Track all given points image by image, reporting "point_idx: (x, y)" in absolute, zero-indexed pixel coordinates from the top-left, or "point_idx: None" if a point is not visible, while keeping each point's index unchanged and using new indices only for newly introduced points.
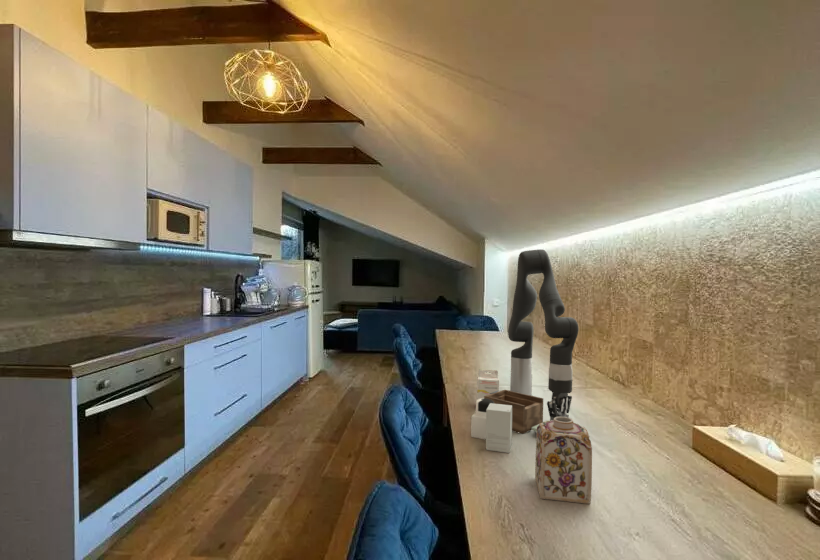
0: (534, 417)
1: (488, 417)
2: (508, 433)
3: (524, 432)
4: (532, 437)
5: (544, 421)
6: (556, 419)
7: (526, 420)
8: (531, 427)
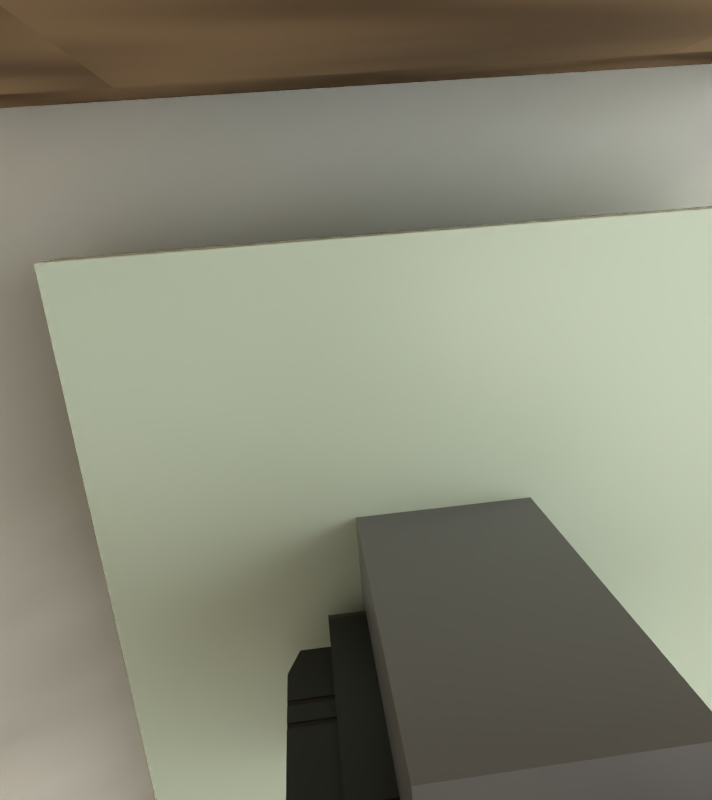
0: (516, 4)
1: None
2: None
3: (42, 101)
4: (11, 336)
5: (655, 211)
6: None
7: (11, 26)
8: (327, 77)
